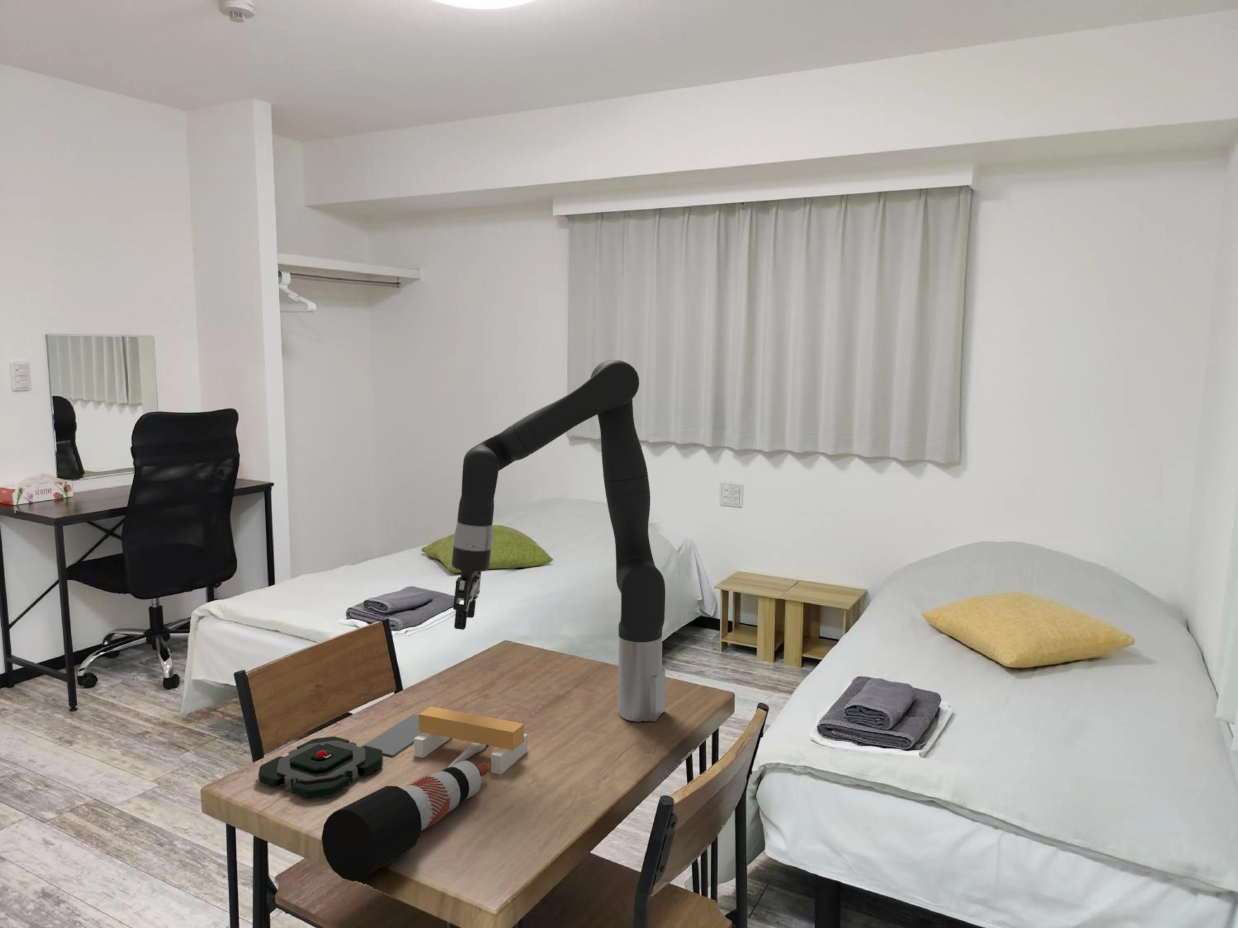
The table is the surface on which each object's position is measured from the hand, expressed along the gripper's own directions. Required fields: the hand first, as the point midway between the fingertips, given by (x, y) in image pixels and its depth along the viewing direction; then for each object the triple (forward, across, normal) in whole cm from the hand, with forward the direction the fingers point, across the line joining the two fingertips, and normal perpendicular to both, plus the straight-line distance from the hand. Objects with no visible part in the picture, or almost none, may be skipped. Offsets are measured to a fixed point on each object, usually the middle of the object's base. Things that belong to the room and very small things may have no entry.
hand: (464, 622), depth 173 cm
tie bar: (+18, -12, -6) cm, 23 cm away
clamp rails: (+22, -12, -6) cm, 25 cm away
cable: (+23, -38, -4) cm, 44 cm away
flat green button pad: (+26, -20, +19) cm, 38 cm away
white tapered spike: (+22, -12, -6) cm, 26 cm away
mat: (+23, -4, +9) cm, 25 cm away
